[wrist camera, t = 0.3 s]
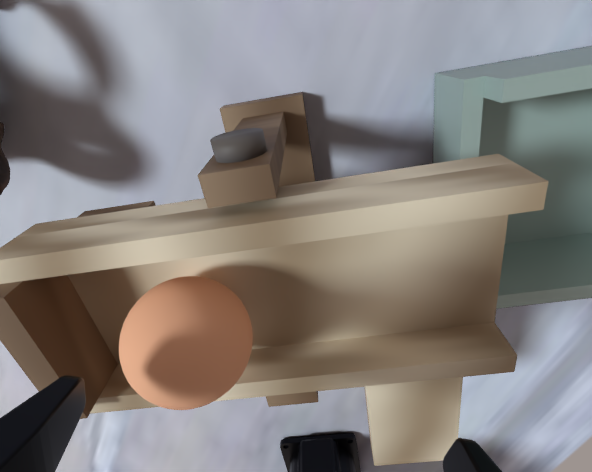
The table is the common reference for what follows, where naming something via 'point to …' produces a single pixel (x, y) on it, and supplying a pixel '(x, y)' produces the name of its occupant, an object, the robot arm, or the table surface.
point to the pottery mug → (3, 164)
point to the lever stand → (260, 165)
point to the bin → (530, 162)
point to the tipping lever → (294, 290)
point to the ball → (185, 343)
